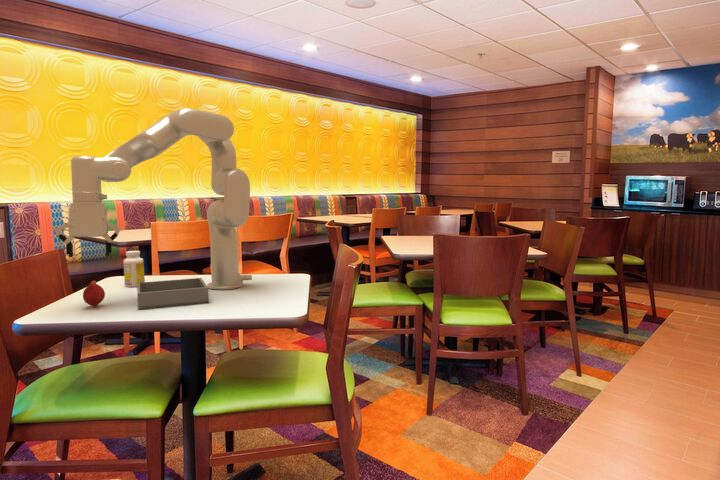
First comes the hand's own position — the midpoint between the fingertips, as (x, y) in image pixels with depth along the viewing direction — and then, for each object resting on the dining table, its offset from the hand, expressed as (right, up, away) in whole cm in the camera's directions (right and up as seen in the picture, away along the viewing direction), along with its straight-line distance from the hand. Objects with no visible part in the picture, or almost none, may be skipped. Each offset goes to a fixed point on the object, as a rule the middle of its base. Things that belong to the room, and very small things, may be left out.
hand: (89, 256), depth 144 cm
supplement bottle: (-2, -12, +34) cm, 36 cm away
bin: (+21, -15, +10) cm, 27 cm away
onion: (0, -16, +2) cm, 16 cm away
